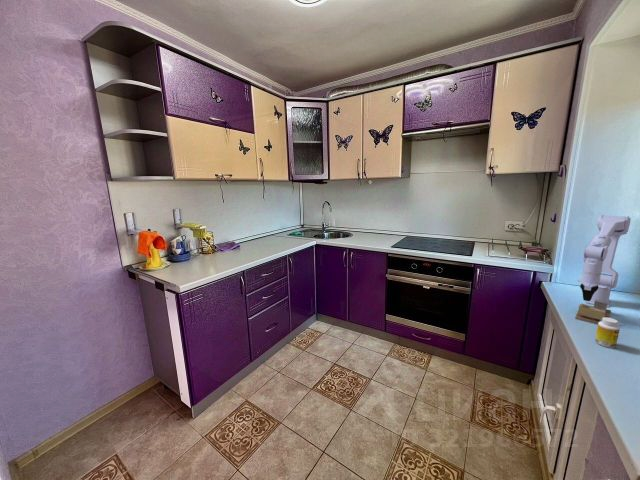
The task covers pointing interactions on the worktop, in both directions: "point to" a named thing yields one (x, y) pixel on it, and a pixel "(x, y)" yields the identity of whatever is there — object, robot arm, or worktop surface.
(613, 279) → the robot arm
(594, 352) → the worktop surface
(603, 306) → the grey piece
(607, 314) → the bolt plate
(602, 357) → the worktop surface
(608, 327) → the supplement bottle
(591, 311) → the divider leg
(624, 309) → the worktop surface
